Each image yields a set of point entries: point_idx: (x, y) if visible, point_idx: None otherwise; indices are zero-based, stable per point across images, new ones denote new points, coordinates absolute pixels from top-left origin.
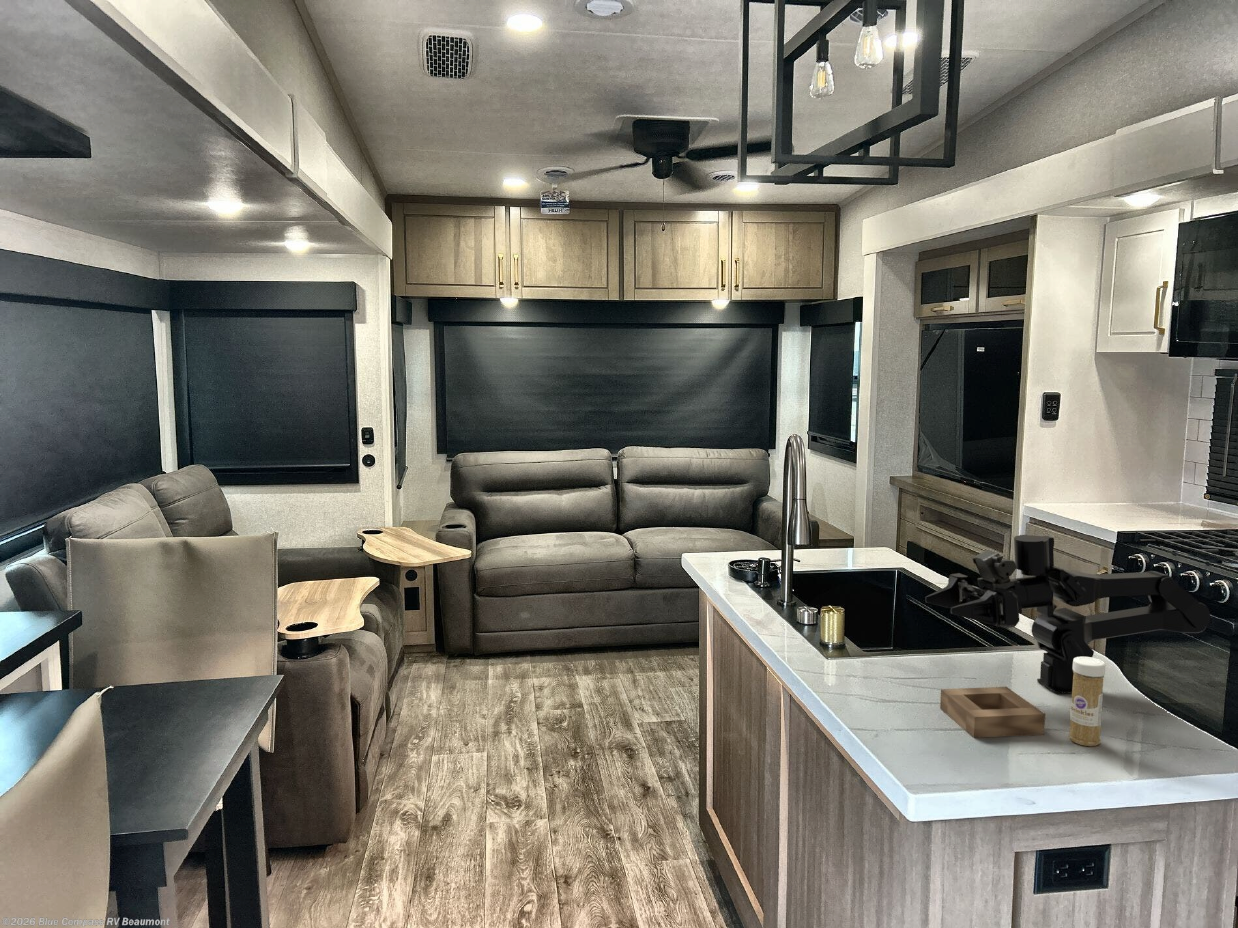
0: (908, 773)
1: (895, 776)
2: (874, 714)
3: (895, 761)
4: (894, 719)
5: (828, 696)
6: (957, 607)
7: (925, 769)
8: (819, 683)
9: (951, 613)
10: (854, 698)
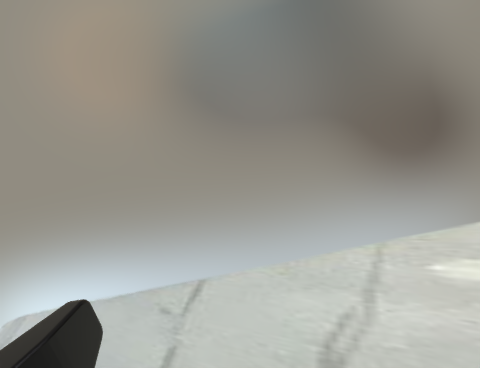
0: None
1: (49, 310)
2: (250, 326)
3: None
4: (217, 359)
5: (354, 261)
6: (35, 330)
7: None
8: (437, 250)
9: (99, 332)
10: (344, 303)
